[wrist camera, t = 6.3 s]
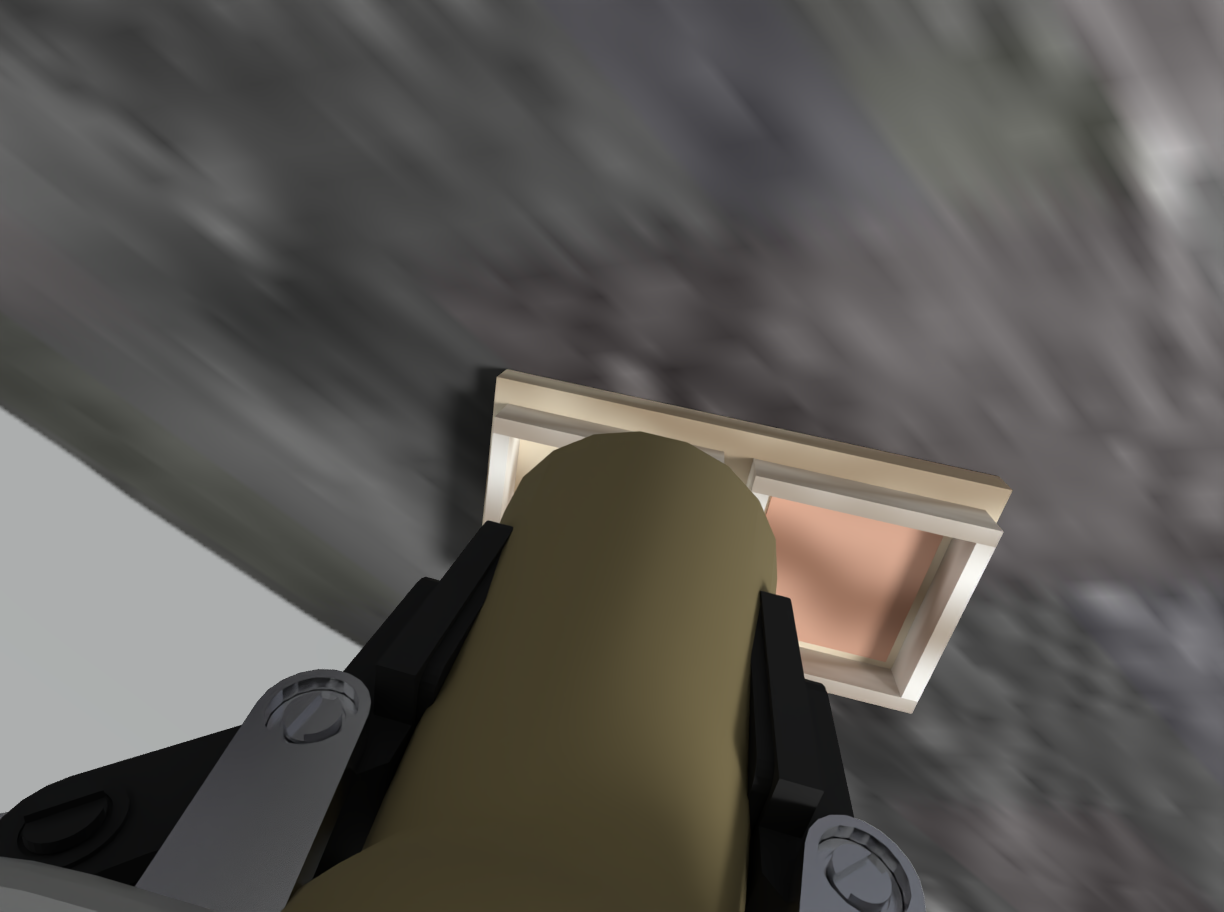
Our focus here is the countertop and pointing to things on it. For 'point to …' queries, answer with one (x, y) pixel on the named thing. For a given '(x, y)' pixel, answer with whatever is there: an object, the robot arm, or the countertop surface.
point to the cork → (587, 705)
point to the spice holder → (803, 525)
